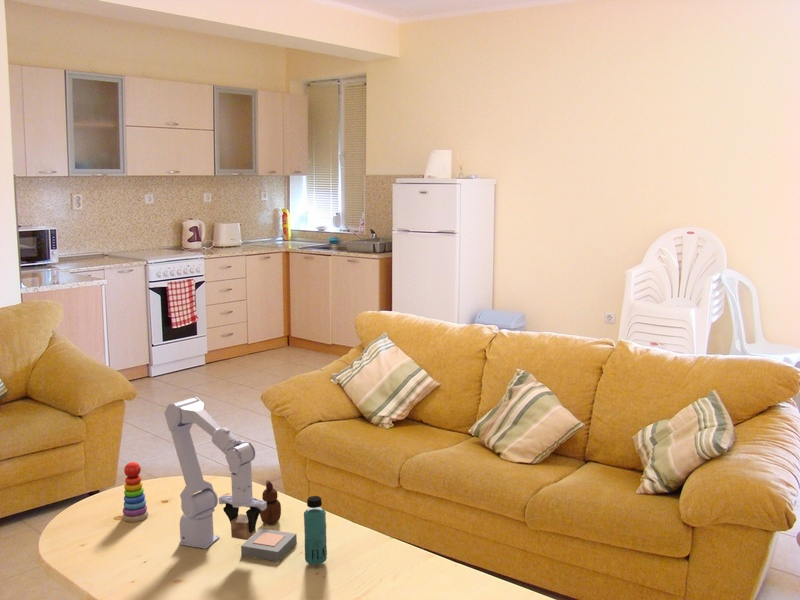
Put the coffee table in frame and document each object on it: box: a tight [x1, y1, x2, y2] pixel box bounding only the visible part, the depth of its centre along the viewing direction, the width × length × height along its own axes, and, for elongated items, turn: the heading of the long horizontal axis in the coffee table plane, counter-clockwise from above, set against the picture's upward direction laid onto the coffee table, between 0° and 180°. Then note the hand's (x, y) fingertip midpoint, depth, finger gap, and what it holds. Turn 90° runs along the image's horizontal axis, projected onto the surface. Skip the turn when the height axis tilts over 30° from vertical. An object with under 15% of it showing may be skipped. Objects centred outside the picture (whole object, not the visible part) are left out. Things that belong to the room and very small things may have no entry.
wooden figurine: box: [259, 480, 282, 526], centre depth 244 cm, size 7×6×15 cm
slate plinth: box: [240, 528, 298, 563], centre depth 227 cm, size 12×12×3 cm
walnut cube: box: [230, 513, 257, 541], centre depth 220 cm, size 5×5×5 cm
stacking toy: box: [122, 461, 149, 523], centre depth 248 cm, size 8×8×19 cm
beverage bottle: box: [303, 495, 328, 566], centre depth 217 cm, size 6×7×20 cm
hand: (243, 529), depth 221 cm, fingers closed on walnut cube, 5 cm apart
